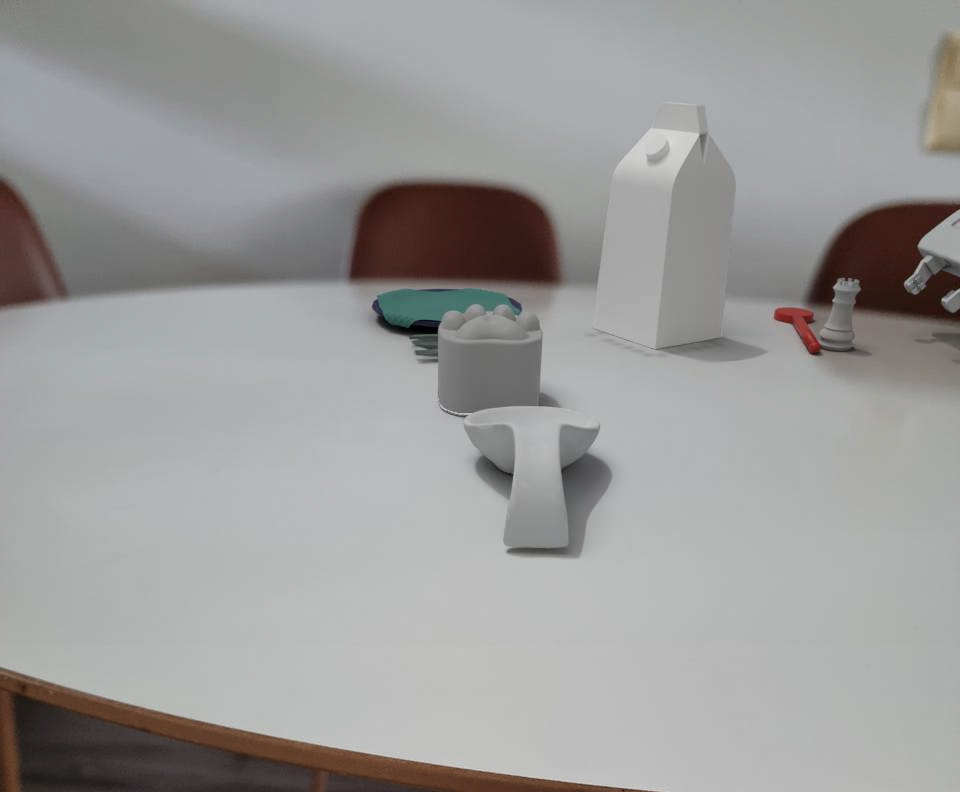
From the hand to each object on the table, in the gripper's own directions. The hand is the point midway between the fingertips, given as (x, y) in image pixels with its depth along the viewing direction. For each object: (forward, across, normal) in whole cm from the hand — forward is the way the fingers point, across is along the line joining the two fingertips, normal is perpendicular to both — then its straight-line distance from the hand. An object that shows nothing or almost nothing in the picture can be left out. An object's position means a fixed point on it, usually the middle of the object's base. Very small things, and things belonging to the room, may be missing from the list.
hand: (926, 298), depth 120 cm
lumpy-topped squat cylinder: (+44, +19, -36) cm, 60 cm away
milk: (+27, -7, -18) cm, 33 cm away
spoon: (+13, -6, -5) cm, 15 cm away
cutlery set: (+45, -9, -37) cm, 59 cm away
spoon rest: (+43, +44, -35) cm, 71 cm away
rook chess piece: (+12, 0, -3) cm, 12 cm away
